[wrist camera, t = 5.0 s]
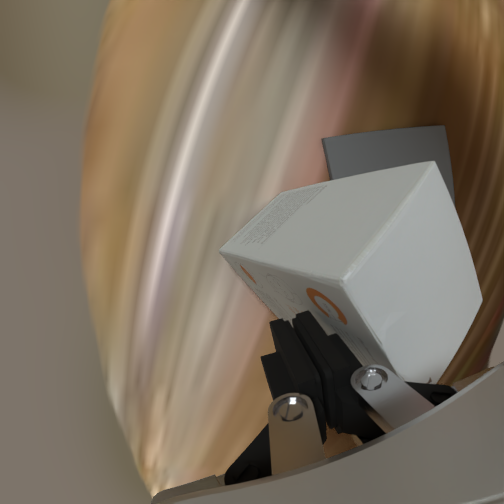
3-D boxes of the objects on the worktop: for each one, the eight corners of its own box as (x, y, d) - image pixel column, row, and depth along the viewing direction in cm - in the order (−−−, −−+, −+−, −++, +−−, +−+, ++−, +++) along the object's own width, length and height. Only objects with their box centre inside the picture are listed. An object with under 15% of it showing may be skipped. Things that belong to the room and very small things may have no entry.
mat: (321, 138, 20) (323, 138, 20) (441, 125, 21) (444, 125, 21) (350, 325, 25) (353, 328, 24) (452, 281, 26) (455, 283, 25)
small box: (339, 269, 23) (485, 301, 11) (286, 327, 22) (419, 410, 10) (280, 188, 21) (437, 155, 9) (214, 249, 19) (337, 286, 7)
